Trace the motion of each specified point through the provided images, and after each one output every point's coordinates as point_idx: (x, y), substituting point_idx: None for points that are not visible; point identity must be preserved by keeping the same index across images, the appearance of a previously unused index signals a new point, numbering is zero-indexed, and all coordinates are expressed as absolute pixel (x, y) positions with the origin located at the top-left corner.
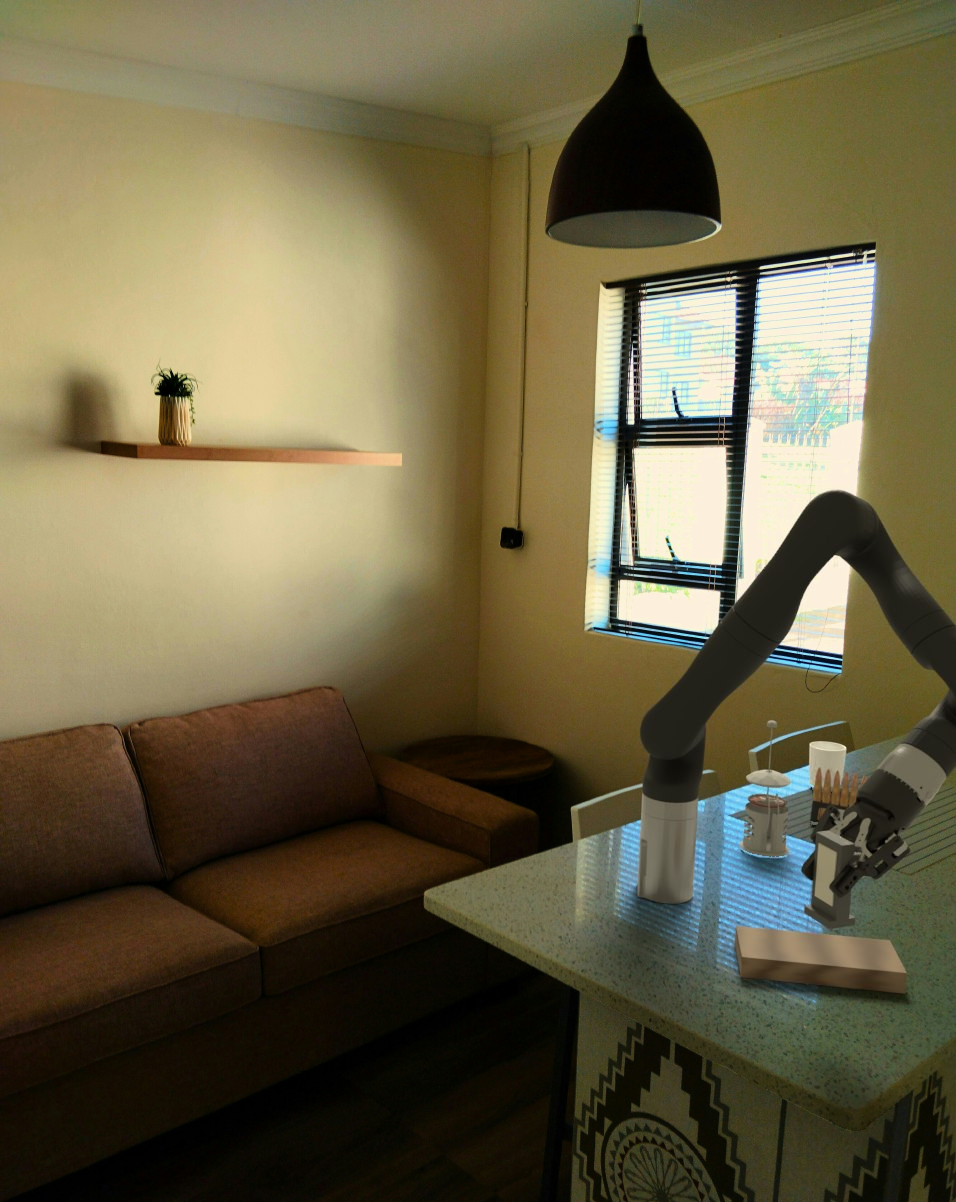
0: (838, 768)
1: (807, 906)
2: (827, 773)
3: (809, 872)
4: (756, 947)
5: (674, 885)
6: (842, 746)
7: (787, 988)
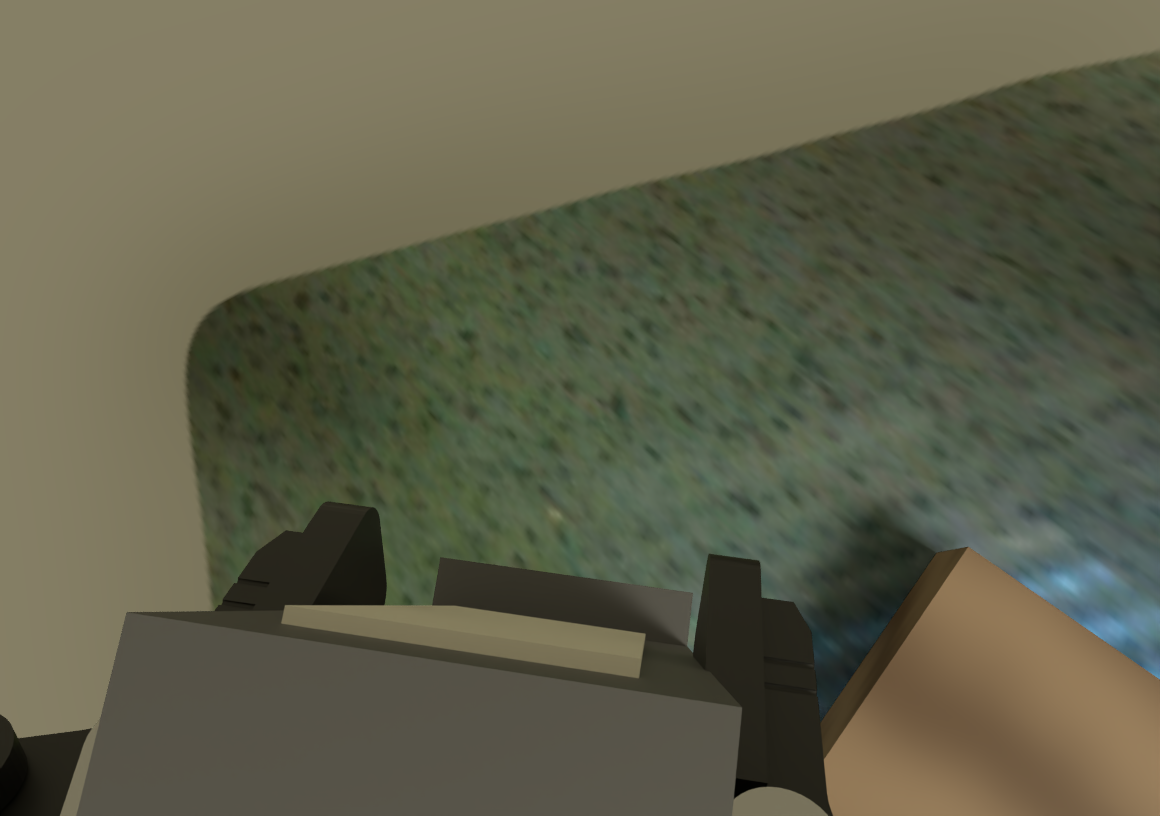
0: None
1: (674, 600)
2: None
3: (701, 612)
4: (1026, 678)
5: None
6: None
7: None
